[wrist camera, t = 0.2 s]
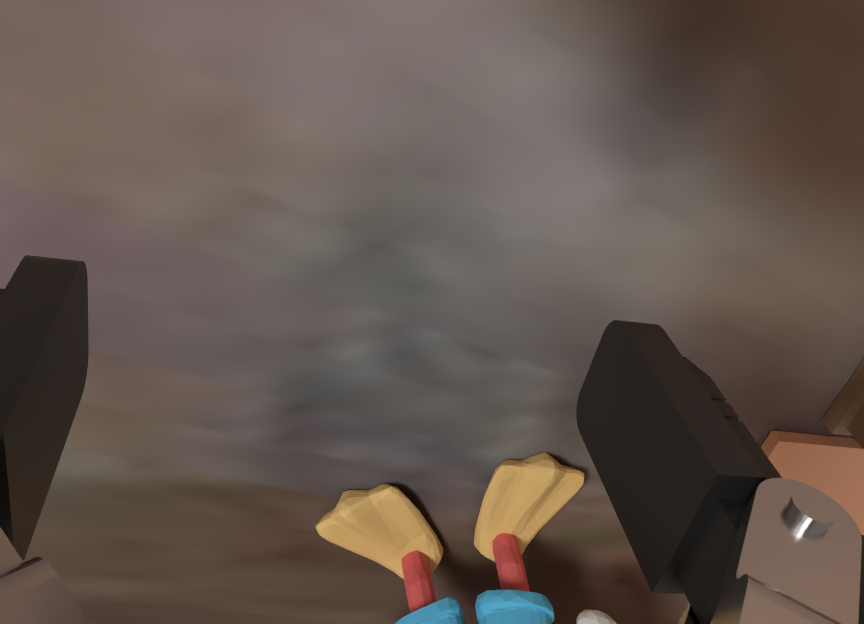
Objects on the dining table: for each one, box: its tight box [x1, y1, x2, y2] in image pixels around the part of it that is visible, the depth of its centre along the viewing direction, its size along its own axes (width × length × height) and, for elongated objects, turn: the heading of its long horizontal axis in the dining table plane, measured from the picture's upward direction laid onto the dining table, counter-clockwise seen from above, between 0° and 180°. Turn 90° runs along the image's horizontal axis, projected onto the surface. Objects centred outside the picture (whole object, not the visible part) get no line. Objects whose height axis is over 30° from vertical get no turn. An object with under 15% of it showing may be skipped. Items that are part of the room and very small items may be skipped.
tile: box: [760, 430, 864, 535], centre depth 45 cm, size 12×12×1 cm
